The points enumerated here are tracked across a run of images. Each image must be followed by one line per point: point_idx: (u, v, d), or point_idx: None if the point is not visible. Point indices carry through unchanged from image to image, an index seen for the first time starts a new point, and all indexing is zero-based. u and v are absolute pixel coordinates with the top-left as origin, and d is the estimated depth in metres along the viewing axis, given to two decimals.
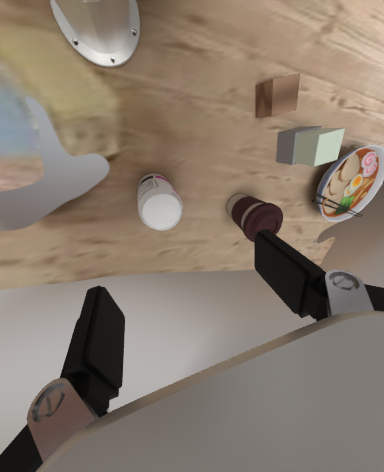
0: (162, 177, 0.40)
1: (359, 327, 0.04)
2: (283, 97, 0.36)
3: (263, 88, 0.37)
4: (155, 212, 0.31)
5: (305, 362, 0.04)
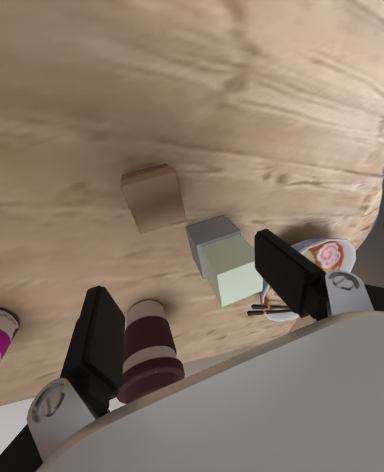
0: None
1: (359, 327, 0.04)
2: (153, 208, 0.21)
3: None
4: None
5: (306, 362, 0.04)
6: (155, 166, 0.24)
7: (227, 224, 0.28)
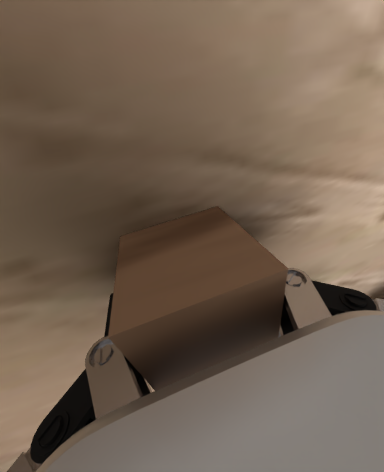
0: None
1: (359, 327, 0.04)
2: (205, 354, 0.07)
3: None
4: None
5: (306, 362, 0.04)
6: (195, 214, 0.11)
7: None
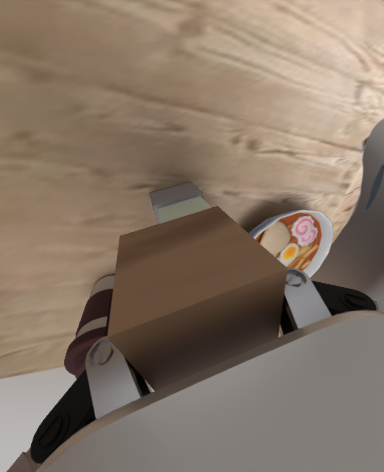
0: None
1: (359, 327, 0.04)
2: (204, 354, 0.07)
3: None
4: None
5: (306, 361, 0.04)
6: (194, 213, 0.11)
7: (191, 188, 0.27)
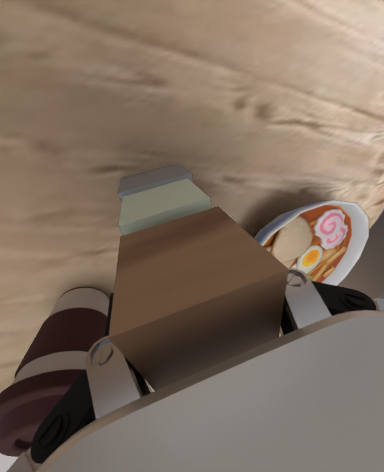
0: None
1: (359, 327, 0.04)
2: (205, 355, 0.07)
3: None
4: None
5: (305, 362, 0.04)
6: (195, 214, 0.11)
7: (177, 170, 0.19)
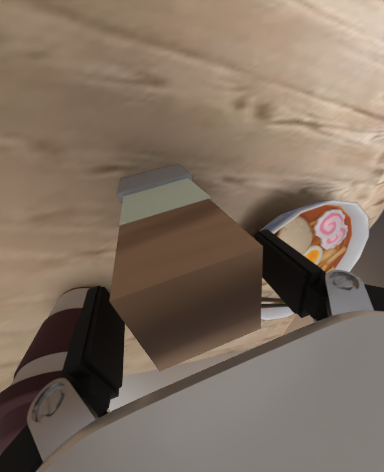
0: None
1: (359, 327, 0.04)
2: (194, 325, 0.08)
3: None
4: None
5: (306, 362, 0.04)
6: (188, 205, 0.12)
7: (177, 170, 0.19)
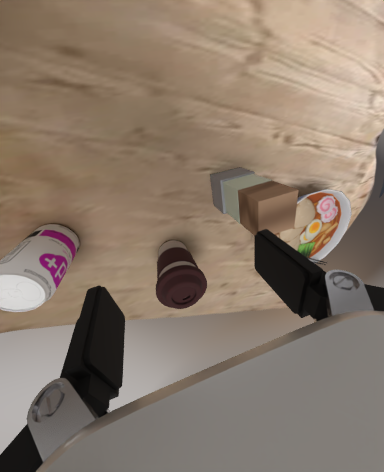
0: (55, 231, 0.33)
1: (359, 327, 0.04)
2: (274, 218, 0.25)
3: (247, 201, 0.27)
4: (4, 293, 0.24)
5: (306, 362, 0.04)
6: (263, 183, 0.29)
7: (243, 170, 0.36)
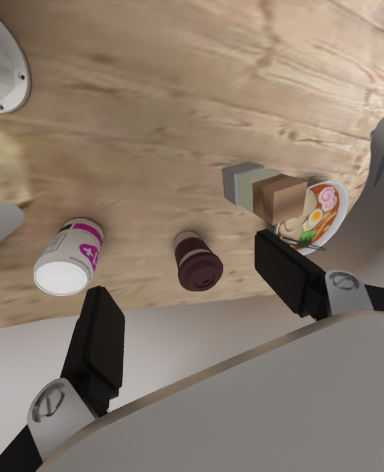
0: (85, 224, 0.36)
1: (359, 327, 0.04)
2: (286, 206, 0.29)
3: (262, 192, 0.30)
4: (52, 279, 0.27)
5: (306, 362, 0.04)
6: (274, 176, 0.33)
7: (253, 165, 0.40)
